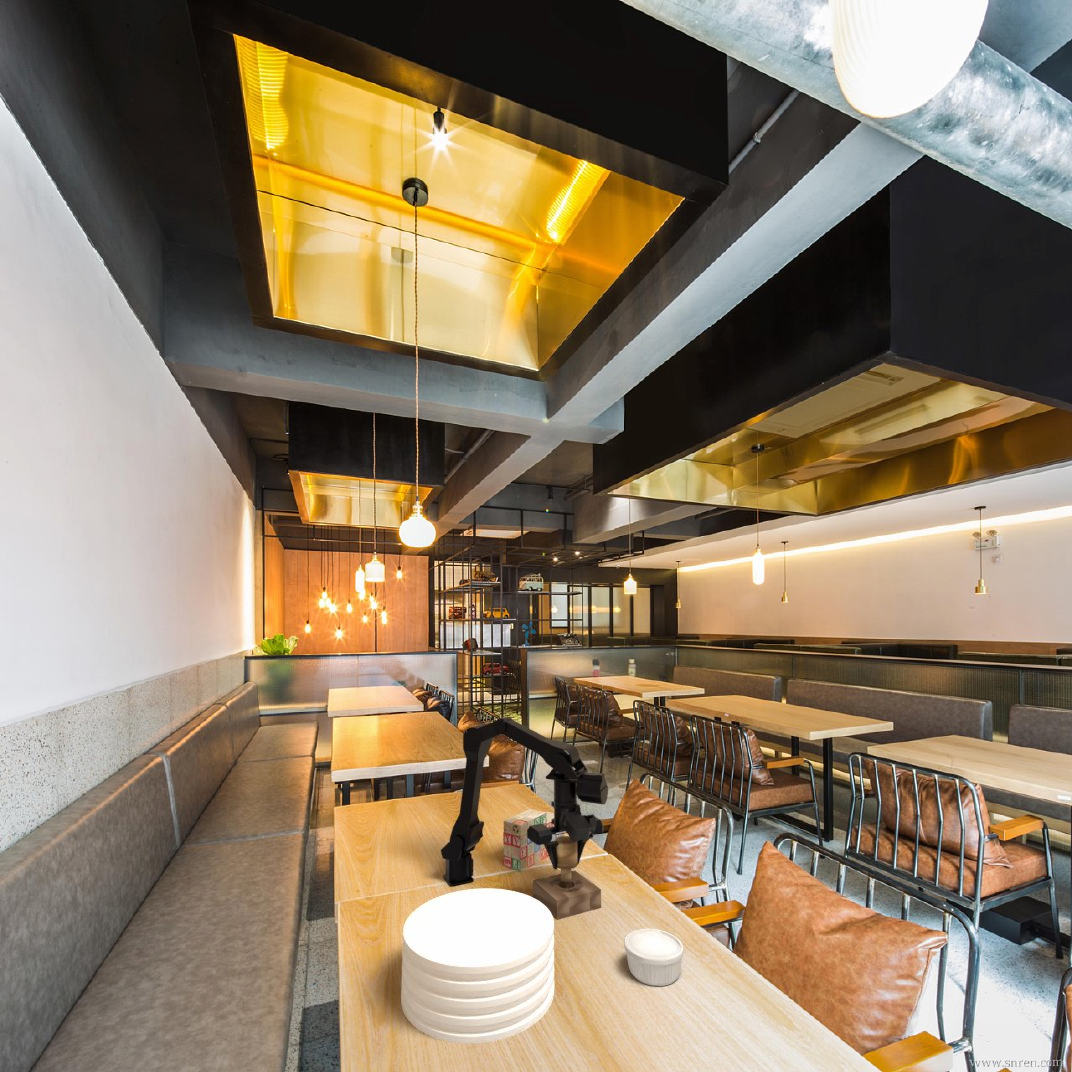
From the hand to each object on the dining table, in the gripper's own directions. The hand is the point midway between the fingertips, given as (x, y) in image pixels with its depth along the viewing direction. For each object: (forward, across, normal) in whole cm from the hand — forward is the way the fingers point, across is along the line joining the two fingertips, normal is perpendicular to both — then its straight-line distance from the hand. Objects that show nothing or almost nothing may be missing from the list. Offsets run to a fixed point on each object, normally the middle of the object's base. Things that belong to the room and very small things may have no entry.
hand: (565, 866), depth 140 cm
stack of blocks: (+8, +6, +28) cm, 30 cm away
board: (+8, 0, 0) cm, 8 cm away
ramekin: (+8, +1, -32) cm, 33 cm away
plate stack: (+8, -31, -21) cm, 38 cm away
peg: (+3, 0, 0) cm, 3 cm away
